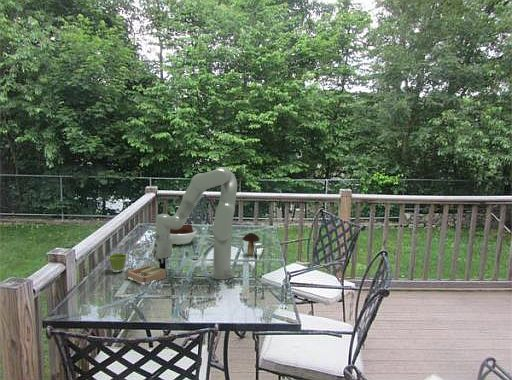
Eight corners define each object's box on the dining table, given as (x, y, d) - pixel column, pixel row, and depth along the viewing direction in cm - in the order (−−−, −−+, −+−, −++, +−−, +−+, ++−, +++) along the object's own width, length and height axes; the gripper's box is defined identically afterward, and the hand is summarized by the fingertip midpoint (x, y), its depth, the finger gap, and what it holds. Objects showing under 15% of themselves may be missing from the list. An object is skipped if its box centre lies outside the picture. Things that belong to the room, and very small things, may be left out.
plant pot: (121, 275, 220) (121, 259, 219) (105, 273, 222) (105, 257, 221) (129, 269, 229) (129, 254, 228) (114, 268, 231) (114, 253, 230)
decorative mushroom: (258, 258, 261) (259, 235, 259) (241, 257, 261) (242, 234, 259) (258, 253, 272) (259, 231, 270) (242, 252, 272) (243, 230, 270)
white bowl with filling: (158, 239, 296) (159, 218, 294) (193, 238, 304) (193, 218, 302) (161, 248, 272) (162, 226, 270) (199, 247, 280) (199, 225, 278)
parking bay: (165, 278, 218) (165, 271, 217) (144, 285, 207) (144, 278, 206) (148, 272, 226) (148, 265, 226) (126, 278, 215) (126, 271, 214)
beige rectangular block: (166, 275, 223) (166, 269, 222) (151, 281, 213) (151, 274, 213) (155, 272, 227) (156, 266, 226) (140, 277, 217) (140, 271, 217)
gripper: (156, 240, 215) (155, 274, 217) (178, 235, 226) (177, 267, 229) (147, 237, 219) (146, 270, 222) (168, 233, 231) (168, 264, 233)
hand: (162, 269), depth 225 cm, fingers closed
